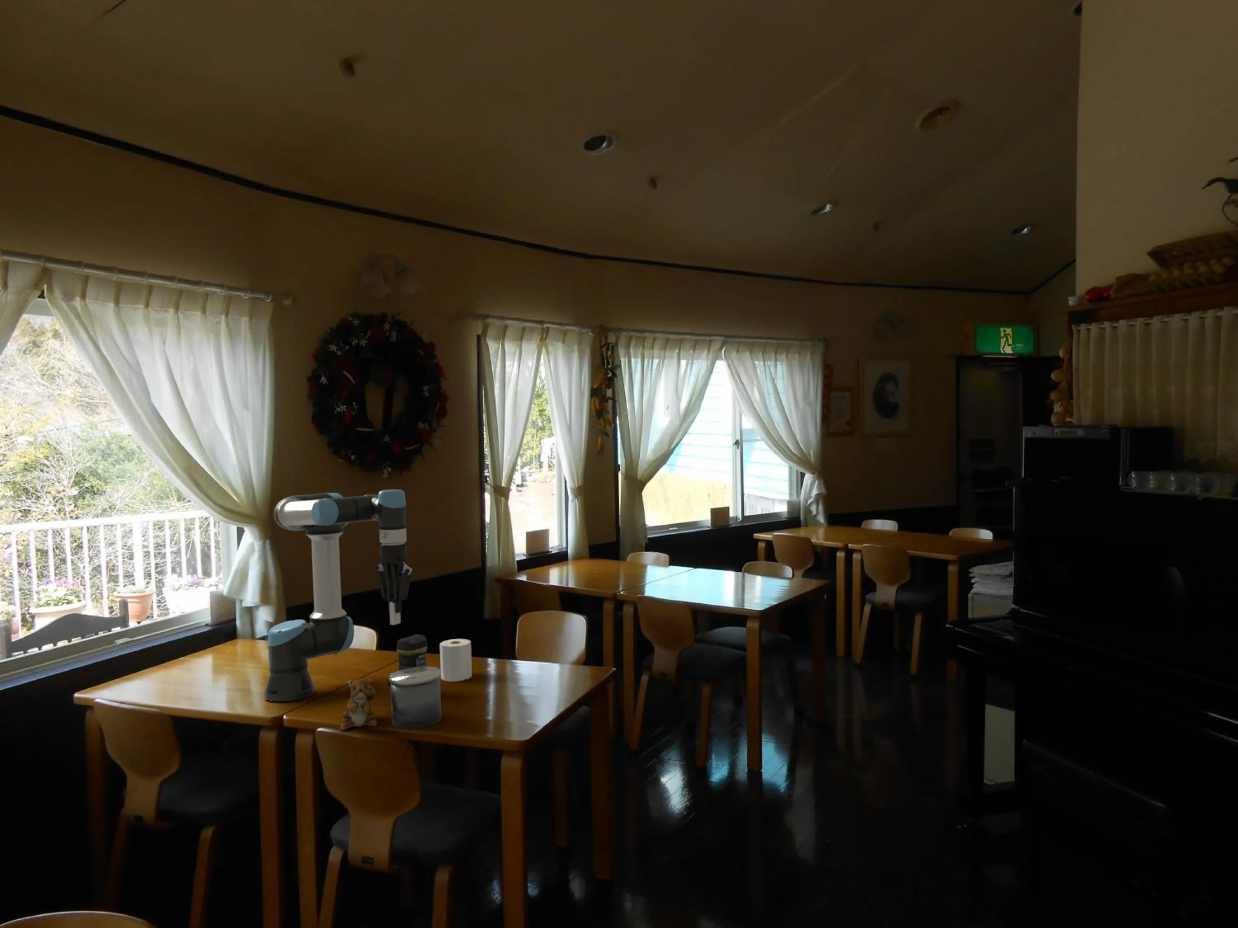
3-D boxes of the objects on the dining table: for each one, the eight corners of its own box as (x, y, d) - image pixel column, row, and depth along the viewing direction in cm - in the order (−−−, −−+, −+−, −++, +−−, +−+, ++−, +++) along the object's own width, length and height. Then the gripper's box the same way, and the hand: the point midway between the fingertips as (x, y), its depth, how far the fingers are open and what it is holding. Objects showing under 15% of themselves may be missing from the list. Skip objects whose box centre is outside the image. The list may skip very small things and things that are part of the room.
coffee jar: (412, 699, 257) (409, 640, 256) (393, 695, 261) (391, 638, 260) (433, 690, 265) (431, 633, 264) (415, 687, 269) (413, 631, 268)
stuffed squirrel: (339, 732, 229) (337, 686, 229) (343, 715, 243) (341, 672, 242) (376, 728, 232) (374, 682, 231) (378, 712, 245) (376, 669, 245)
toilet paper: (435, 677, 280) (434, 642, 279) (462, 671, 286) (461, 636, 286) (450, 683, 272) (449, 647, 272) (477, 676, 279) (476, 641, 278)
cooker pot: (377, 723, 235) (376, 682, 235) (411, 708, 248) (409, 669, 247) (419, 731, 228) (417, 689, 228) (451, 715, 241) (449, 675, 240)
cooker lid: (376, 683, 235) (376, 678, 235) (411, 669, 248) (411, 664, 247) (417, 687, 228) (417, 682, 227) (451, 672, 240) (450, 668, 240)
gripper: (366, 543, 235) (369, 624, 237) (401, 546, 230) (404, 628, 231) (384, 540, 242) (387, 618, 243) (419, 542, 236) (421, 622, 238)
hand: (395, 623), depth 237 cm, fingers closed
